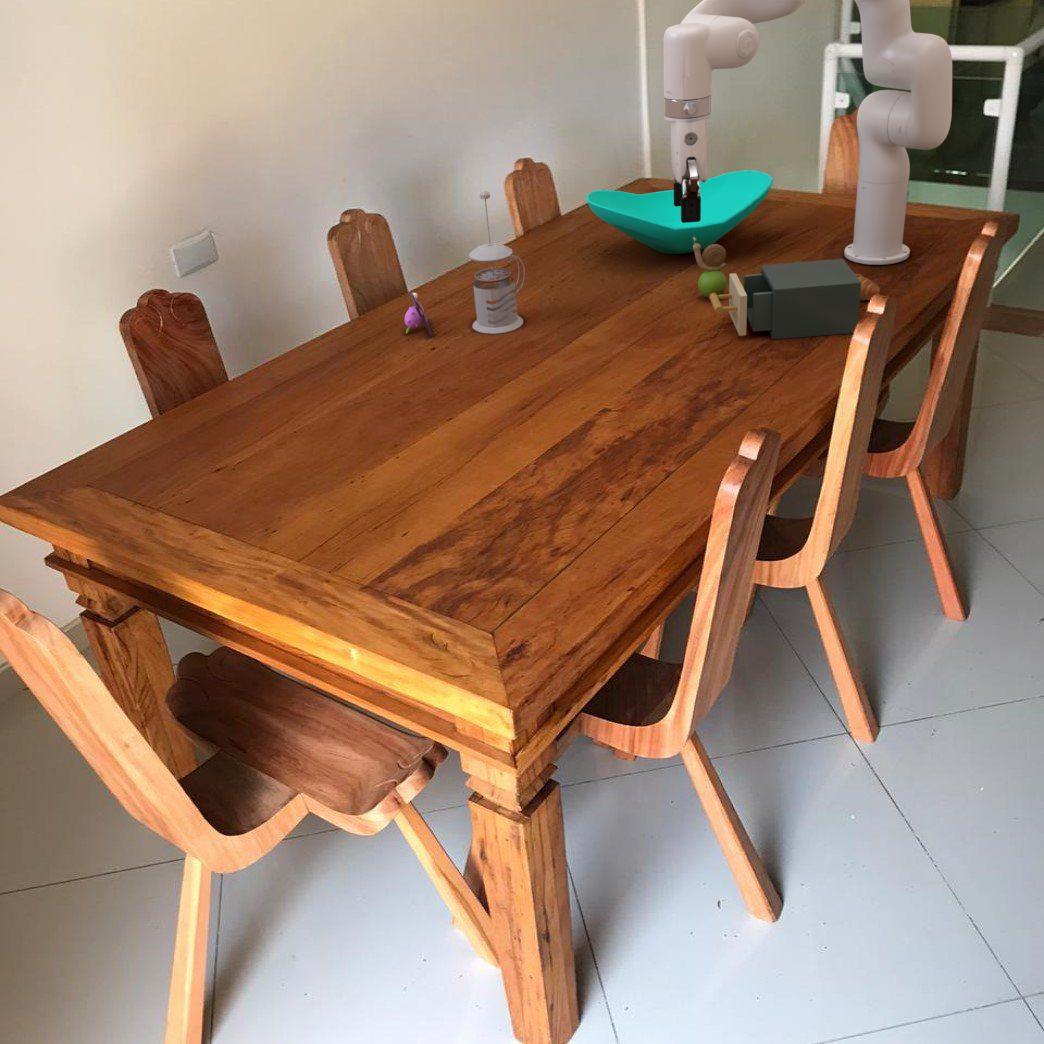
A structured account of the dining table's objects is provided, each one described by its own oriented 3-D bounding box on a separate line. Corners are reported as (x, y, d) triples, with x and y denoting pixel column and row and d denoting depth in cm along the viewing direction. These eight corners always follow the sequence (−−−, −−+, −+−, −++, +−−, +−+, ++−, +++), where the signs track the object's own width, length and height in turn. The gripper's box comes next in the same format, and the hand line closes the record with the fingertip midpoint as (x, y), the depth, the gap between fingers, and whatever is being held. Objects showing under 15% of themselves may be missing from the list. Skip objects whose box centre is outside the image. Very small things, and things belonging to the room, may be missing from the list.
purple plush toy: (420, 304, 202) (414, 288, 209) (395, 317, 202) (390, 301, 210) (436, 335, 205) (430, 318, 213) (412, 347, 206) (406, 330, 213)
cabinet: (772, 339, 191) (774, 289, 187) (759, 313, 202) (760, 265, 197) (857, 332, 191) (861, 282, 186) (839, 306, 202) (842, 258, 197)
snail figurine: (690, 294, 213) (690, 233, 207) (722, 291, 213) (723, 230, 207) (696, 304, 208) (696, 242, 202) (729, 300, 209) (730, 238, 202)
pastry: (886, 294, 205) (888, 274, 202) (867, 306, 201) (869, 286, 199) (842, 285, 211) (843, 265, 208) (822, 296, 207) (823, 276, 205)
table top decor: (745, 219, 250) (747, 159, 243) (793, 255, 227) (796, 191, 220) (575, 243, 246) (572, 183, 239) (606, 283, 222) (603, 218, 215)
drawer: (716, 337, 192) (717, 297, 188) (707, 313, 202) (707, 275, 198) (817, 329, 191) (819, 289, 187) (803, 306, 201) (805, 267, 197)
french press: (462, 324, 210) (446, 193, 197) (510, 307, 215) (498, 178, 202) (491, 337, 203) (477, 202, 190) (541, 319, 208) (530, 187, 195)
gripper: (719, 117, 170) (717, 226, 179) (702, 95, 185) (701, 198, 193) (670, 120, 170) (670, 230, 179) (658, 99, 185) (658, 201, 194)
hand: (686, 213), depth 186 cm, fingers open, 9 cm apart
